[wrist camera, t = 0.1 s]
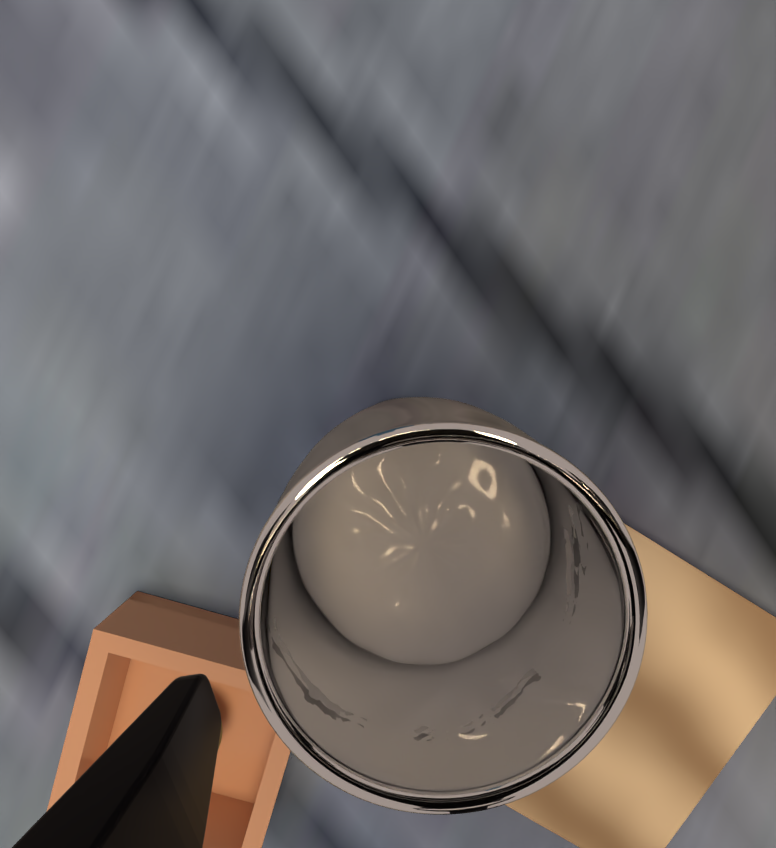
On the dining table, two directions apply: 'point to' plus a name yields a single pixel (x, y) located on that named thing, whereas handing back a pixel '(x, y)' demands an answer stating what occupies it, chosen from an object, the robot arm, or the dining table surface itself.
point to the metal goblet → (441, 610)
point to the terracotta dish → (148, 677)
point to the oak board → (668, 713)
